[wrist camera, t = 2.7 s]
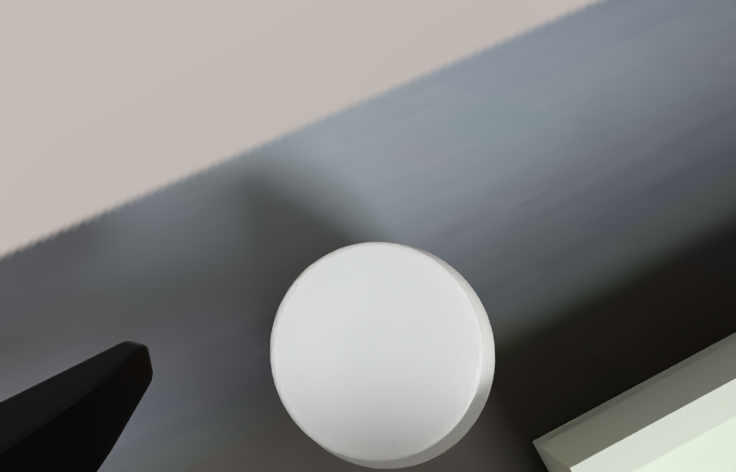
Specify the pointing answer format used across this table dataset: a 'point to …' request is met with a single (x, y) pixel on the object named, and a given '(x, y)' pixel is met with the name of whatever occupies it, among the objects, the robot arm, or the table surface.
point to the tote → (657, 422)
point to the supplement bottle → (382, 354)
